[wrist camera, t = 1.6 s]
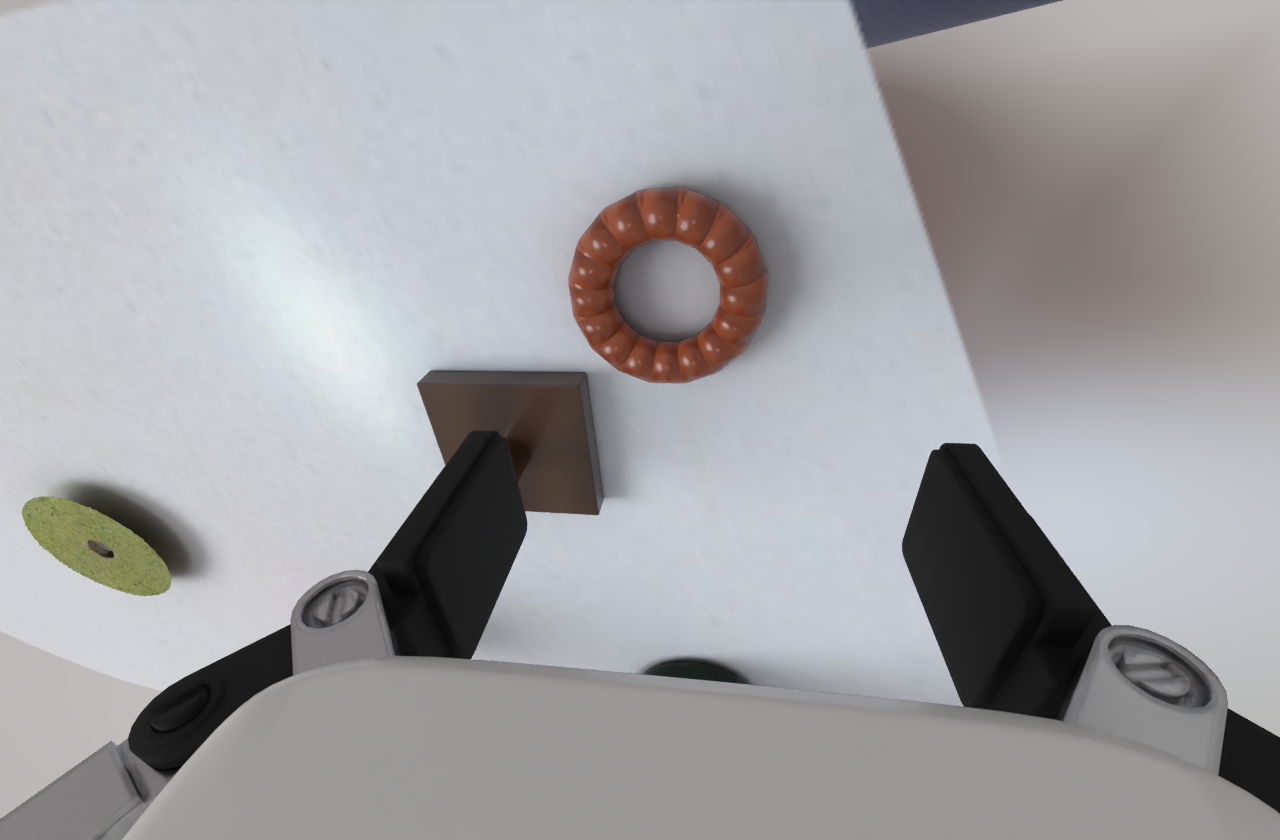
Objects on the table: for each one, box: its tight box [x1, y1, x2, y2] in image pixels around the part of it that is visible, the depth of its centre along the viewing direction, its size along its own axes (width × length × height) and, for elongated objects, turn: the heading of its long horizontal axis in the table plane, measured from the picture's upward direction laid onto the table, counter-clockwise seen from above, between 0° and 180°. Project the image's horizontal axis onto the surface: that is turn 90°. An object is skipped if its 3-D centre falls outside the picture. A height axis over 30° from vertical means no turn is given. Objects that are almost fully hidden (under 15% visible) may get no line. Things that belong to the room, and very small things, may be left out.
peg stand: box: [417, 371, 603, 515], centre depth 26 cm, size 9×9×10 cm
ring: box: [569, 188, 767, 383], centre depth 23 cm, size 9×9×2 cm
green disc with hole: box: [22, 497, 171, 596], centre depth 41 cm, size 11×11×2 cm
